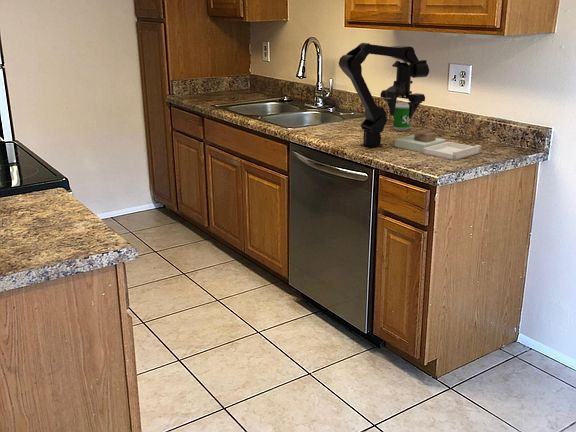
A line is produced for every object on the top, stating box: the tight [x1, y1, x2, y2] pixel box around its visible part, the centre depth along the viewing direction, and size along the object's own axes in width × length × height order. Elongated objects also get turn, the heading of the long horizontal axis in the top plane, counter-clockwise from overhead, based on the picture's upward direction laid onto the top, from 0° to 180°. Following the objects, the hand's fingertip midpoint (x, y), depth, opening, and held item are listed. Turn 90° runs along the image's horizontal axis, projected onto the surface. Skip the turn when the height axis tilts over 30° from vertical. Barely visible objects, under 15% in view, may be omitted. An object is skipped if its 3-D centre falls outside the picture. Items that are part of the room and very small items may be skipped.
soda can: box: [392, 101, 411, 132], centre depth 276 cm, size 8×8×12 cm
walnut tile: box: [413, 130, 437, 143], centre depth 243 cm, size 6×6×3 cm
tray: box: [421, 141, 482, 161], centre depth 235 cm, size 15×17×3 cm
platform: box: [394, 134, 447, 153], centre depth 246 cm, size 14×14×3 cm
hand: (401, 117), depth 250 cm, fingers open, 9 cm apart
